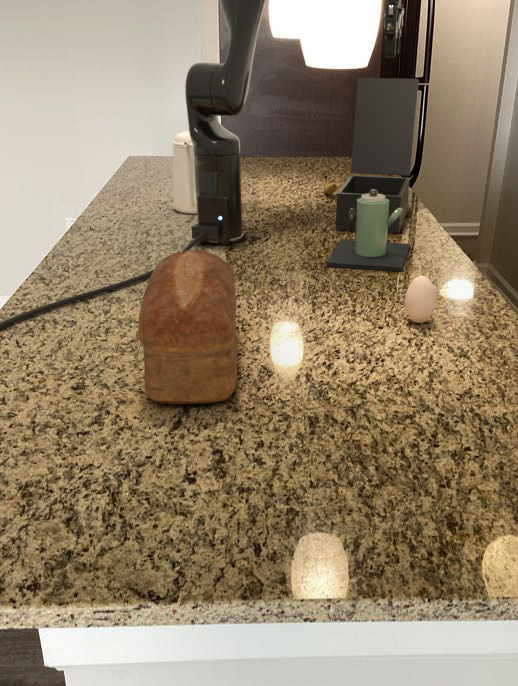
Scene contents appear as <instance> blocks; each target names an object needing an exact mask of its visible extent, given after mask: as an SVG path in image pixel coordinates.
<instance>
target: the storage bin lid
mask: <svg viewBox="0 0 518 686" xmlns="http://www.w3.org/2000/svg"><path fill="white" fill-rule="evenodd" d="M419 82H420V81H419V79H418V78H386V77H385V78H381V77H379V78H377V77H358V78H357V83H356V97H355V108H354V109H355V110H354V124H353V138H352V153H351V163H350V164H351V166H350V174H357V175H358V174H360V175H378V176H379V175H380V176H381V175H382V176H403V177H404V176H405V177H410V176H411V169H412V157H413V147H414V138H415V137H414V135H415V126H416V114H417V102H418V93H419V91H418V90H419Z"/></svg>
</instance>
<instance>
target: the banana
mask: <svg viewBox="0 0 518 686" xmlns="http://www.w3.org/2000/svg"><path fill="white" fill-rule="evenodd" d="M323 177H324V181H325V182H324V184H323V191H324V193H325V194H326V195H330V196H331V195H332V194H334V193H335V192H336V191H337V190H338V185H337V183H336V182H332V183H329V180H328V175H324V176H323Z"/></svg>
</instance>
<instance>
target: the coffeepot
mask: <svg viewBox="0 0 518 686" xmlns="http://www.w3.org/2000/svg"><path fill="white" fill-rule="evenodd" d="M187 129H188V130H189V124H188V125H187ZM172 146H173V149H172V150H173V151H172V152H173V155H172V156H173V157H172V158H173V162H172V163H173V165H172V166H173V167H172V168H173V171H172V172H173V173H172V174H173V175H172V176H173V177H172V178H173V179H172V180H173V181H172V182H173V183H172V190H173V191H172V205H173V208H174V210H175V211H177V212H179V213H181V214H182V213H183V214H189V215H190V214H191V215H197V207H196V188H195V170H194V151H193V144H192V141H191V138H190V134H189V131H181V132H178V133H177V134H176V135H175V136H174V138H173V140H172Z"/></svg>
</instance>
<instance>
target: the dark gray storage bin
mask: <svg viewBox="0 0 518 686" xmlns="http://www.w3.org/2000/svg"><path fill="white" fill-rule="evenodd" d="M372 189H375V190H377V192H378V194H383V195H385V198H386V199H388V200H389V213H388V218H389V217H390V216H391V215H392V214H393V213H394V212H395V211H396V209H397V208H402V210H403V212H402V214H401V215H400V216H399V217H398V218H397V219H396V220H395V221H394V222H393V223H392V224H391V225H390V226H389V227H388V230H387V234H400V232H401V229H402V226H403V224H404V221H405V218H406V215H407V213H408V204H409V191H410V177H404V176H403V177H400V176H381V175H380V176H379V175H377V176H376V175H358V174H357V175H355V174H354V175H353V174H352V175H350V176H349V177H348V178H347V179H346V181H345V182H344V183H343V184H342V186H341V187H340V189H339V190H338V191H337V192H336V204H335V205H336V207H335V231H344V232H345V231H346V232H349V210H350V209H351V208H354V210H355V217H354V231H353V232H356V215H357V199H359V198H362V195H363V194H368V193H369V192H370V190H372Z"/></svg>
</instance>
